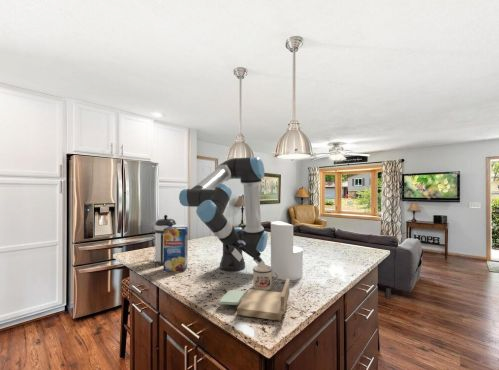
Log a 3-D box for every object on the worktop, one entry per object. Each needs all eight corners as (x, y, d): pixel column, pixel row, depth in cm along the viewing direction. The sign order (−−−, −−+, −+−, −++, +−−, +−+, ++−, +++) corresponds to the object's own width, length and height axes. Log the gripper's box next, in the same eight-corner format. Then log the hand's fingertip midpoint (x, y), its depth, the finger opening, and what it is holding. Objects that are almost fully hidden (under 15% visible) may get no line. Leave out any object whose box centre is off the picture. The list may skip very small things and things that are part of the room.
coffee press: (181, 258, 166) (181, 213, 167) (171, 266, 150) (172, 216, 151) (156, 258, 168) (157, 213, 168) (144, 265, 152) (144, 215, 153)
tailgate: (245, 291, 105) (228, 290, 107) (237, 302, 95) (218, 301, 97) (245, 294, 105) (228, 294, 107) (237, 306, 95) (219, 305, 96)
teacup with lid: (253, 291, 113) (253, 265, 114) (252, 283, 122) (252, 260, 123) (279, 291, 114) (279, 265, 114) (276, 283, 123) (276, 259, 123)
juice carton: (163, 271, 140) (163, 228, 141) (167, 267, 148) (167, 226, 148) (184, 271, 141) (185, 228, 141) (187, 267, 148) (187, 226, 149)
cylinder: (277, 281, 126) (277, 225, 126) (266, 270, 142) (266, 221, 143) (308, 278, 130) (308, 224, 131) (294, 268, 147) (294, 220, 148)
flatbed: (289, 300, 104) (289, 278, 104) (284, 322, 86) (284, 296, 87) (249, 296, 108) (249, 275, 108) (236, 316, 91) (236, 291, 91)
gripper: (202, 235, 108) (228, 263, 118) (241, 244, 90) (268, 276, 100) (212, 221, 112) (236, 250, 122) (251, 228, 94) (276, 260, 104)
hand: (251, 261), depth 111 cm, fingers open, 13 cm apart
